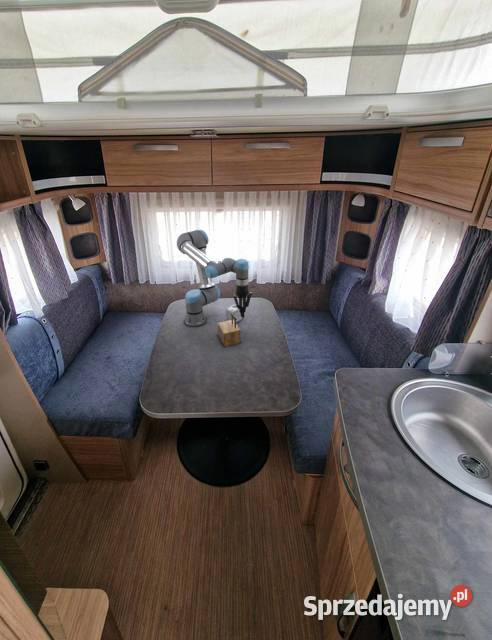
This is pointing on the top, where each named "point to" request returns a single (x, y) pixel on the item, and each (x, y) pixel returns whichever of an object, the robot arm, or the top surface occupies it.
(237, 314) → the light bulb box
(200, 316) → the robot arm
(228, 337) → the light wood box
